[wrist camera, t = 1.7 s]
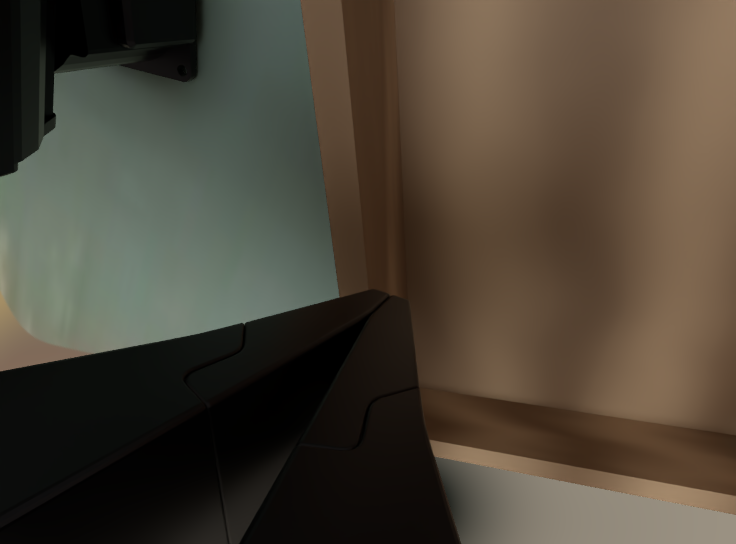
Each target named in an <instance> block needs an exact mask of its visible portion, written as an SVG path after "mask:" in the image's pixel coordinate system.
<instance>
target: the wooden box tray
mask: <svg viewBox="0 0 736 544" xmlns="http://www.w3.org/2000/svg"><path fill="white" fill-rule="evenodd" d="M301 8H302V15H303V23H304V31H305V38H306V46H307V53H308V61H309V68H310V76H311V84H312V91H313V99H314V106H315V114H316V122H317V129H318V137H319V144H320V152H321V160H322V167H323V175H324V182H325V190H326V197H327V205H328V213H329V220H330V228H331V235H332V243H333V251H334V258H335V266H336V273H337V281H338V288H339V296H340V297H344V296H348V295H351V294H355V293H359V292H363V291H367V290H370V289H377V290H380V291H383V292H386V293H388V294H390V296H392V295H395V296H398V297H401V298H405V299H407V300H409V302H410V308H411V317H412V326H413V334H414V343H415V352H416V360H417V369H418V378H419V386H420V392H421V399H422V407H423V413H424V419H425V424H426V428H427V432H428V436H429V440H430V443H431V447H432V451H433V454H434V456H436V457H441V458H446V459H452V460H456V461H462V462H467V463H472V464H477V465H482V466H488V467H493V468H498V469H503V470H508V471H513V472H519V473H523V474H529V475H534V476H539V477H544V478H549V479H555V480H559V481H565V482H570V483H575V484H580V485H585V486H590V487H595V488H601V489H606V490H611V491H616V492H621V493H626V494H632V495H637V496H642V497H647V498H652V499H657V500H662V501H667V502H673V503H678V504H683V505H688V506H693V507H698V508H704V509H709V510H714V511H719V512H724V513H729V514H734V515H736V0H301Z"/></svg>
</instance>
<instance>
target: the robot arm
mask: <svg viewBox="0 0 736 544" xmlns="http://www.w3.org/2000/svg"><path fill="white" fill-rule="evenodd" d="M195 39H196V18H195V0H0V177H1V176H5V175H8V174H11V173H14V172H16V171H17V170H18V162H21V161H23V160H24V159H25V158H27V157H28V156H30V155H31V154H32V153H34V152H35V151H37V150H38V149H39V147H40V144H41V142H42V139H43V137H44V136H45V135H46V134H47V133H49V132H50V131H51V130H53V129H54V128H55V124H56V115H55V113H53V93H54V74H55V73H63V72H70V71H77V70H84V69H92V68H99V67H106V66H114V65H121V66H125V67H128V68H132V69H136V70H140V71H144V72H148V73H151V74H155V75H159V76H163V77H167V78H170V79H174V80H178V81H182V82H187V81H192V80H193V79H194V78H195V77H196V46H195ZM183 66H184V67H185V68H186V70H187V74H185V73H184V72H183ZM0 544H461V542H460V538H459V535H458V532H457V529H456V526H455V522H454V519H453V516H452V512H451V509H450V506H449V503H448V499H447V496H446V493H445V490H444V486H443V483H442V480H441V477H440V473H439V470H438V467H437V464H436V460H435V457H434V454H433V451H432V447H431V443H430V440H429V436H428V432H427V428H426V424H425V419H424V413H423V407H422V399H421V392H420V386H419V378H418V369H417V360H416V352H415V343H414V334H413V326H412V317H411V308H410V302H409V300H407V299H405V298H401V297H398V296H395V295H392V296H390V294H388V293H386V292H383V291H380V290H377V289H370V290H367V291H363V292H359V293H355V294H351V295H348V296H344V297H340V298H336V299H333V300H329V301H325V302H321V303H318V304H314V305H310V306H306V307H302V308H299V309H295V310H291V311H287V312H284V313H280V314H276V315H272V316H268V317H265V318H261V319H257V320H253V321H250V322H246V323H245V325H244V324H243V323H240V324H236V325H232V326H228V327H224V328H220V329H216V330H212V331H208V332H204V333H200V334H195V335H190V336H185V337H180V338H175V339H170V340H165V341H160V342H154V343H149V344H144V345H138V346H133V347H128V348H122V349H117V350H112V351H107V352H101V353H96V354H91V355H85V356H80V357H75V358H70V359H64V360H59V361H54V362H48V363H43V364H37V365H32V366H27V367H22V368H16V369H11V370H6V371H0Z"/></svg>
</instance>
